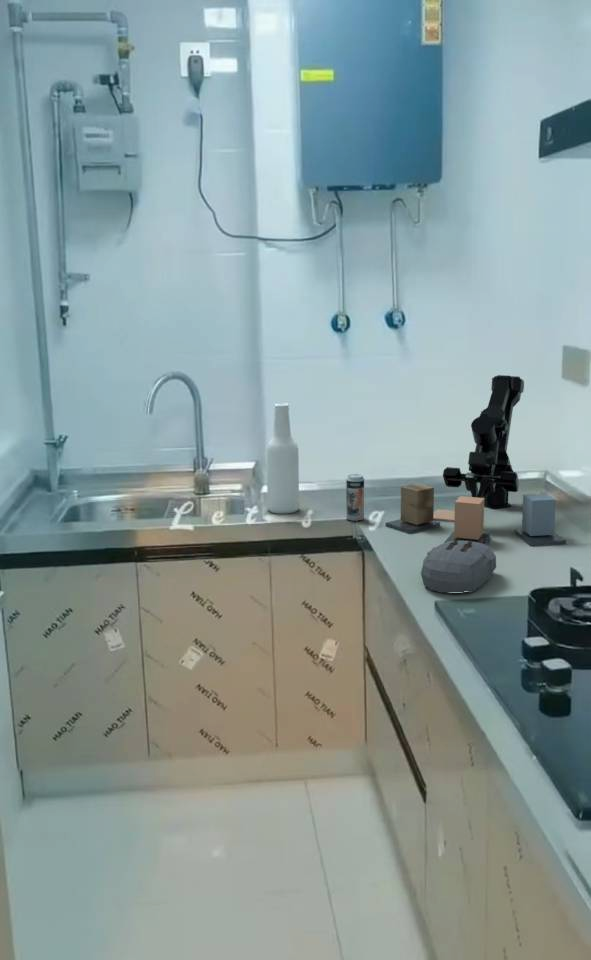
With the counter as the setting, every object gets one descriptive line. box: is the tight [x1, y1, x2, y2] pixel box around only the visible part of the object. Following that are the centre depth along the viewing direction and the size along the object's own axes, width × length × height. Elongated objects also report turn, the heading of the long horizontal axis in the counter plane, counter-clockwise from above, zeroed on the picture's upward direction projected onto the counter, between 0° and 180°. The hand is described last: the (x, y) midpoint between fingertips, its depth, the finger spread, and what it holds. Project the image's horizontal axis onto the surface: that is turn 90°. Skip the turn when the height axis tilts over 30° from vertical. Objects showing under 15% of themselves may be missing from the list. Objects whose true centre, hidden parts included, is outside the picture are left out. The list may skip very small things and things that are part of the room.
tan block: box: [453, 495, 485, 540], centre depth 232 cm, size 6×6×9 cm
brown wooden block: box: [400, 482, 435, 525], centre depth 245 cm, size 6×6×9 cm
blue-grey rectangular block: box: [521, 493, 557, 536], centre depth 233 cm, size 6×6×9 cm
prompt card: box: [433, 509, 455, 523], centre depth 253 cm, size 9×9×1 cm
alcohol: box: [265, 402, 300, 515], centre depth 259 cm, size 9×9×30 cm
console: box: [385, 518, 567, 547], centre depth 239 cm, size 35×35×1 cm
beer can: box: [345, 473, 365, 522], centre depth 251 cm, size 5×5×12 cm
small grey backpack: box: [420, 540, 497, 593], centre depth 203 cm, size 15×8×20 cm
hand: (475, 507), depth 237 cm, fingers closed
